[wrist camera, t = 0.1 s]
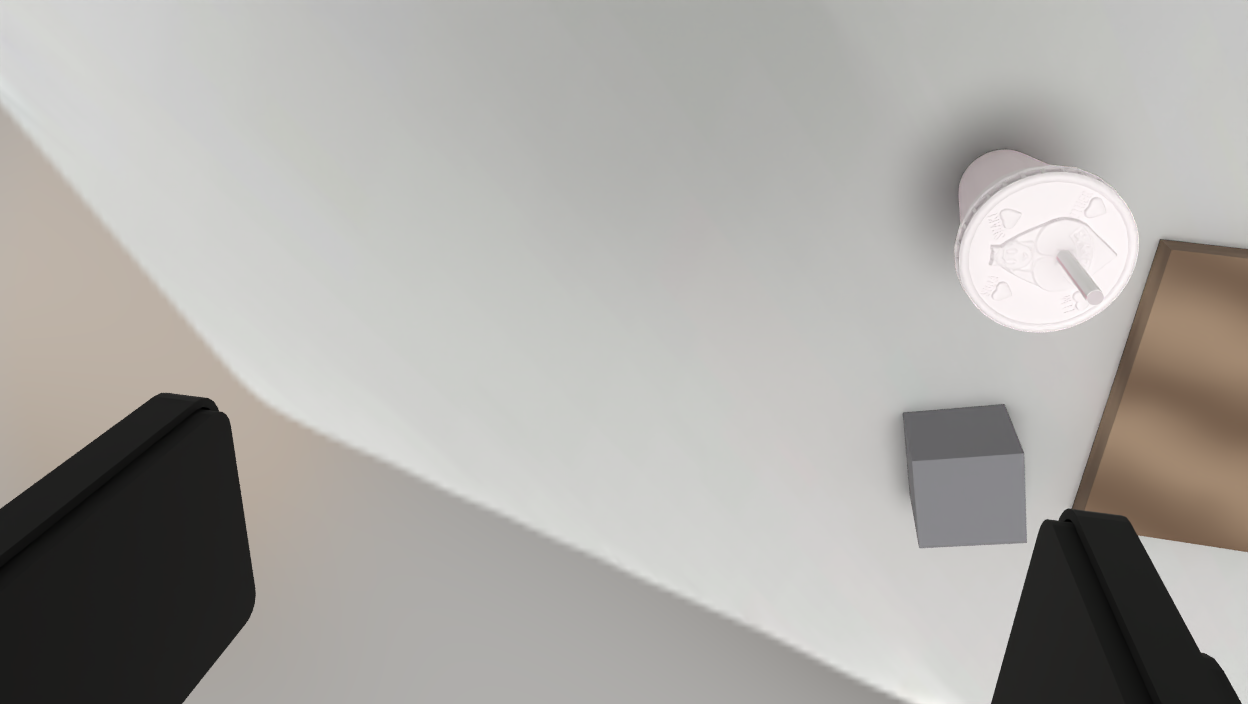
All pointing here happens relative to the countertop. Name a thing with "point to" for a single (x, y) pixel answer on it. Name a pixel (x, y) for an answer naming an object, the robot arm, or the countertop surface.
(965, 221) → the smoothie
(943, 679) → the countertop surface
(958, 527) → the rubber block
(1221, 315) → the walnut board
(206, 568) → the robot arm
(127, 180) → the countertop surface
